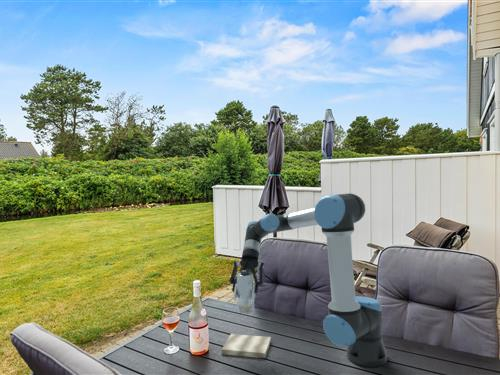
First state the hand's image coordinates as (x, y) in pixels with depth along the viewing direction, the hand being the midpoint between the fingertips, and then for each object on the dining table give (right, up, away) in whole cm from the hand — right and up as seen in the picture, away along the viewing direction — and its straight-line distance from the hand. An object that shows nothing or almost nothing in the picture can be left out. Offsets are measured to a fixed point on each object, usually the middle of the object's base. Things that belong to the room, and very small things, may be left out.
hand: (243, 299), depth 140 cm
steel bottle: (+1, -5, +4) cm, 7 cm away
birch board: (+1, -21, +4) cm, 22 cm away
